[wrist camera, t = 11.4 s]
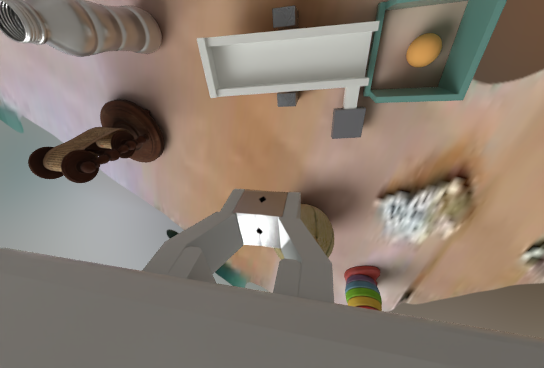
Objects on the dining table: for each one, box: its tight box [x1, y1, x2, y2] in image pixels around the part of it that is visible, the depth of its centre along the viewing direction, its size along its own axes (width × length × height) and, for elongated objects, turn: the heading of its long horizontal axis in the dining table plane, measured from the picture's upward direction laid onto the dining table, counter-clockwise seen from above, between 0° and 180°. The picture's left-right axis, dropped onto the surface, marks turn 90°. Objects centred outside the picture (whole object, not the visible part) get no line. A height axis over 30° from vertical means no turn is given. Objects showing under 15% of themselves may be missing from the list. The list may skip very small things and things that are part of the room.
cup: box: [363, 0, 507, 103], centre depth 27 cm, size 12×12×6 cm
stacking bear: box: [344, 266, 382, 311], centre depth 55 cm, size 11×10×18 cm
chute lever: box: [197, 21, 380, 139], centre depth 32 cm, size 16×25×4 cm, turn 94°
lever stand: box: [272, 6, 298, 107], centre depth 31 cm, size 12×3×5 cm, turn 4°
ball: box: [406, 33, 442, 67], centre depth 28 cm, size 4×4×4 cm
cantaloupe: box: [274, 204, 334, 260], centre depth 46 cm, size 15×15×15 cm
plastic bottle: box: [0, 0, 162, 57], centre depth 27 cm, size 6×7×20 cm
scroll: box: [28, 100, 164, 183], centre depth 40 cm, size 15×15×20 cm
